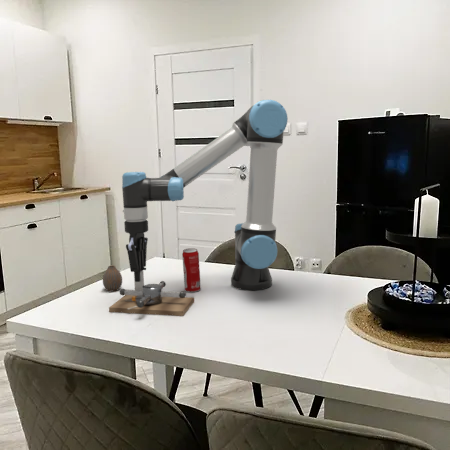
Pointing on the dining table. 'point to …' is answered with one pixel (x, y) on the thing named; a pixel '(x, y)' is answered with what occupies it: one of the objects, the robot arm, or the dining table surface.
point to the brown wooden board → (153, 306)
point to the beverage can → (191, 270)
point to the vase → (112, 279)
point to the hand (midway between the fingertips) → (139, 289)
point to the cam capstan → (151, 294)
